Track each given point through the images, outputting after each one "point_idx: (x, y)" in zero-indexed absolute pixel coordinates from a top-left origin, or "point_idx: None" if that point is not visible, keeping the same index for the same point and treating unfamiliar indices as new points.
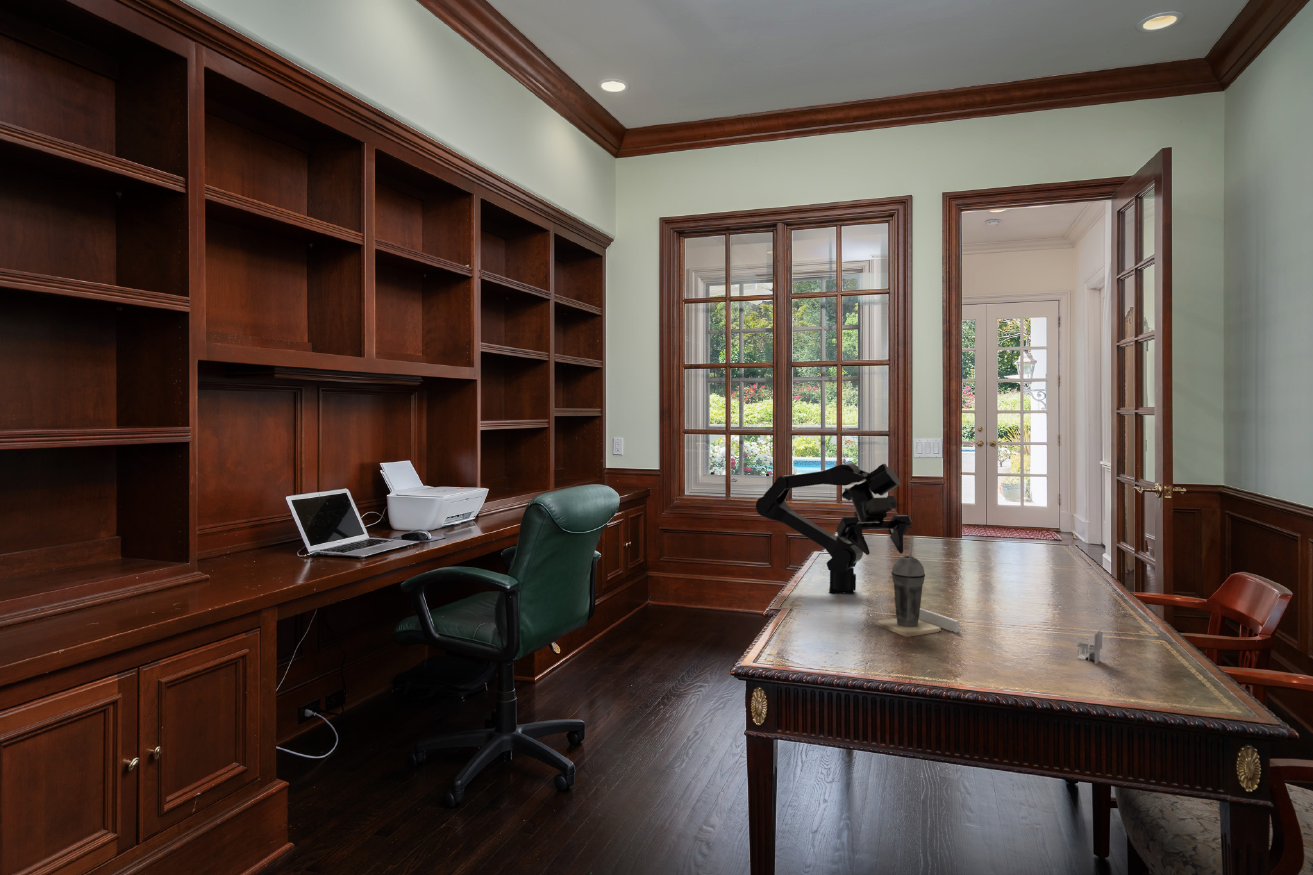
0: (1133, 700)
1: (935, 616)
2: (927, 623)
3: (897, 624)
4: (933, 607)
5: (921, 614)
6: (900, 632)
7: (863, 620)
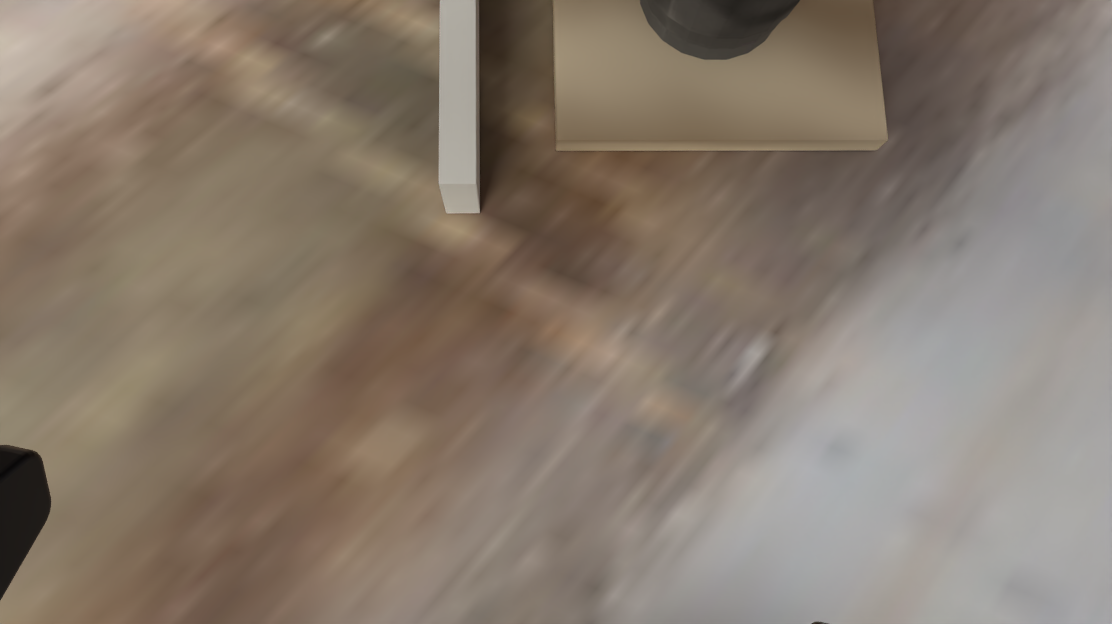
0: None
1: None
2: None
3: None
4: (83, 327)
5: (477, 70)
6: None
7: (896, 264)
